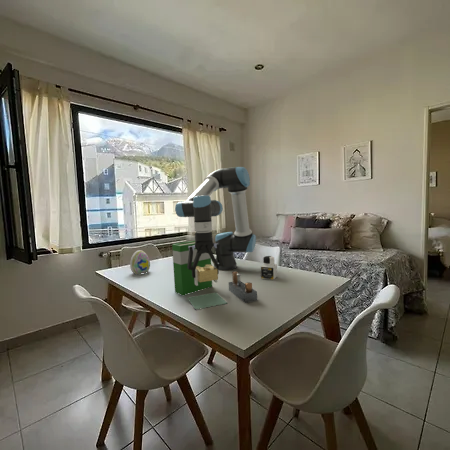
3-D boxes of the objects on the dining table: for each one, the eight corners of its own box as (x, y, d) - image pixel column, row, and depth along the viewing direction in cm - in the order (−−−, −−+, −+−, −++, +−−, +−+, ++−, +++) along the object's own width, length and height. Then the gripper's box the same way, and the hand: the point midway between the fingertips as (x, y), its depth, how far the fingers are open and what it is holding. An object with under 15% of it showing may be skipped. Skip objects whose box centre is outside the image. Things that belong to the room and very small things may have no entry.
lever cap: (193, 276, 115) (193, 264, 114) (210, 273, 118) (209, 262, 117) (199, 282, 105) (199, 269, 105) (217, 279, 108) (217, 267, 108)
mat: (187, 298, 117) (187, 297, 116) (216, 293, 122) (216, 292, 122) (195, 310, 104) (195, 309, 104) (227, 303, 109) (227, 302, 109)
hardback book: (204, 283, 137) (201, 239, 135) (212, 286, 132) (210, 240, 130) (175, 291, 126) (172, 244, 124) (182, 295, 120) (179, 245, 118)
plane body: (228, 290, 125) (228, 271, 124) (239, 288, 127) (239, 270, 126) (245, 303, 108) (244, 282, 108) (257, 300, 111) (256, 279, 110)
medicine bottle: (261, 278, 141) (260, 257, 140) (265, 275, 148) (264, 254, 146) (273, 280, 138) (273, 258, 137) (277, 276, 144) (276, 255, 143)
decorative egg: (135, 277, 156) (133, 252, 154) (127, 273, 165) (126, 250, 163) (153, 272, 163) (152, 249, 162) (146, 269, 173) (144, 247, 171)
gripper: (181, 234, 102) (184, 289, 104) (229, 230, 110) (231, 281, 112) (177, 232, 109) (180, 284, 111) (222, 229, 117) (224, 277, 119)
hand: (206, 283), depth 111 cm, fingers closed on lever cap, 8 cm apart
